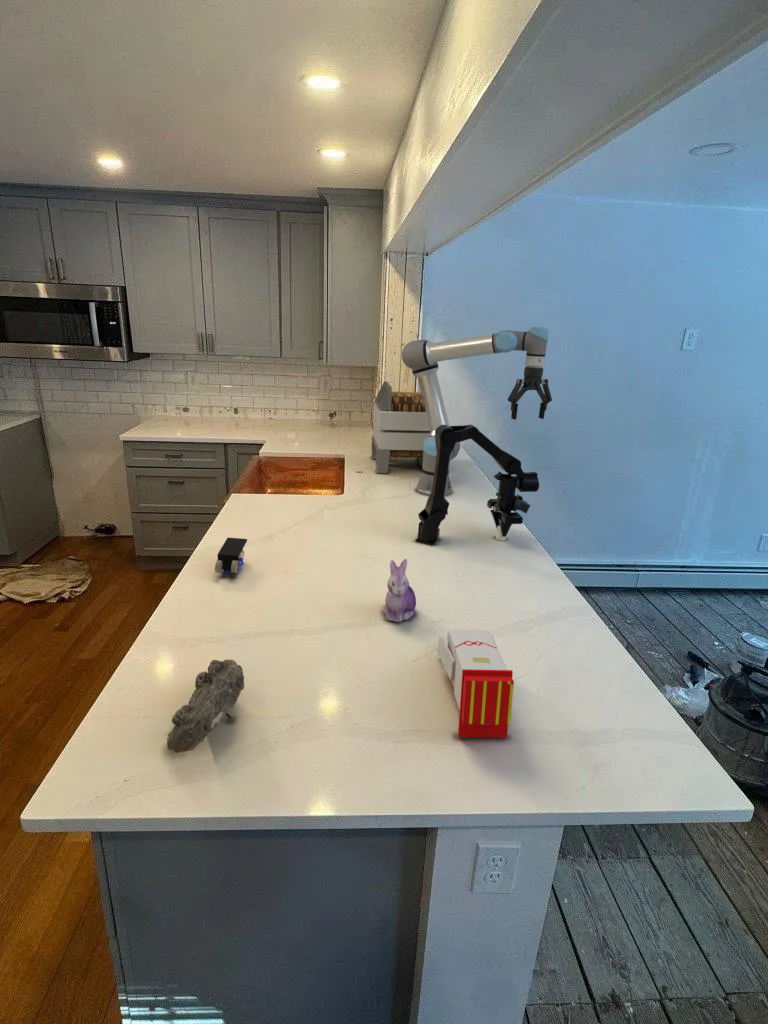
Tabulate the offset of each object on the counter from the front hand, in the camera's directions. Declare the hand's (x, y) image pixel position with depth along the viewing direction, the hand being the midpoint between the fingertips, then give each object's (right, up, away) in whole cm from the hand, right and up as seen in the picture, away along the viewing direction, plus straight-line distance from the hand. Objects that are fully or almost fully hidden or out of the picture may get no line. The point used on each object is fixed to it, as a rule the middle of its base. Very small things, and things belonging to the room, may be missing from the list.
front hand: (501, 533), depth 199 cm
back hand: (+19, +47, +39) cm, 64 cm away
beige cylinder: (0, -2, +1) cm, 2 cm away
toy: (-23, -30, -81) cm, 89 cm away
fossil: (-74, -31, -91) cm, 122 cm away
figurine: (-37, -19, -52) cm, 67 cm away
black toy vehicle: (-86, -9, -32) cm, 92 cm away
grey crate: (-31, +31, +88) cm, 99 cm away
